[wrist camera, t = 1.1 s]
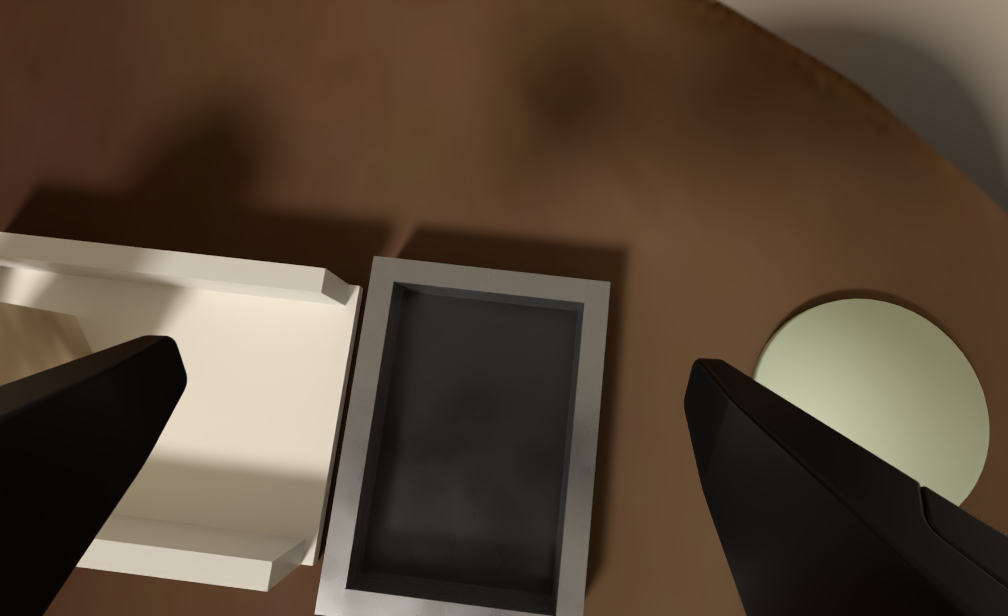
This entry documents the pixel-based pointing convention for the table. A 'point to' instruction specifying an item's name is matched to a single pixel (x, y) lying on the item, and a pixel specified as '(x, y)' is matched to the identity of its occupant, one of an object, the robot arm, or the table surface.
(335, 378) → the cream rectangular tray
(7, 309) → the maple block
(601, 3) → the table surface
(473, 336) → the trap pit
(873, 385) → the pad
